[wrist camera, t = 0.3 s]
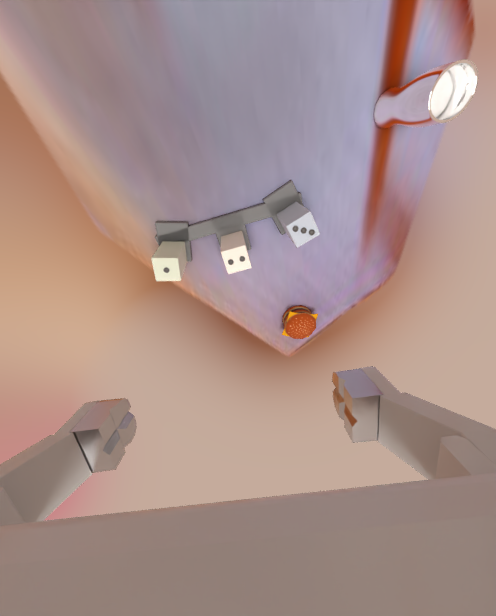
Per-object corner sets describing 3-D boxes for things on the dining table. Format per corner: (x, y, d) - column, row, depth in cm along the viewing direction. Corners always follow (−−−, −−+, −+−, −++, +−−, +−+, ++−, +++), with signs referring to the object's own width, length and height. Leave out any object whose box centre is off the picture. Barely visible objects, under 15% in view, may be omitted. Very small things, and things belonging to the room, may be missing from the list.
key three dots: (276, 214, 52) (286, 226, 43) (296, 201, 51) (310, 211, 42) (286, 233, 54) (297, 248, 46) (305, 221, 53) (320, 234, 45)
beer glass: (411, 114, 45) (482, 100, 33) (377, 140, 47) (432, 136, 35) (402, 73, 42) (478, 41, 29) (366, 103, 44) (422, 84, 31)
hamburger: (307, 329, 75) (313, 343, 69) (278, 327, 73) (282, 341, 68) (315, 305, 69) (323, 318, 64) (285, 302, 68) (290, 316, 63)
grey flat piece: (145, 224, 52) (144, 226, 51) (302, 176, 50) (304, 177, 48) (169, 270, 59) (168, 272, 58) (308, 230, 56) (310, 231, 55)
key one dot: (162, 241, 53) (150, 258, 45) (184, 241, 53) (177, 258, 45) (166, 261, 56) (155, 281, 47) (187, 261, 56) (180, 281, 48)
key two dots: (221, 236, 54) (220, 252, 45) (241, 230, 53) (245, 245, 45) (227, 256, 56) (228, 274, 48) (247, 250, 56) (251, 268, 48)
